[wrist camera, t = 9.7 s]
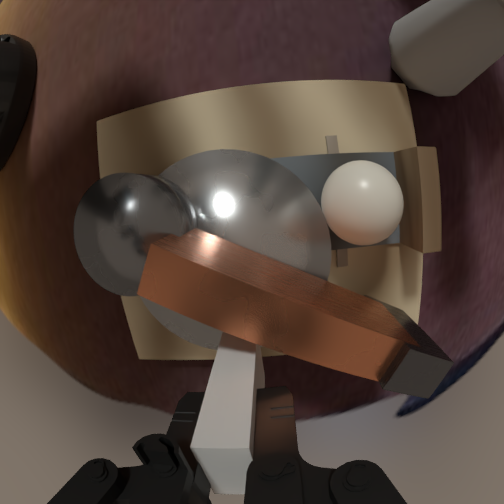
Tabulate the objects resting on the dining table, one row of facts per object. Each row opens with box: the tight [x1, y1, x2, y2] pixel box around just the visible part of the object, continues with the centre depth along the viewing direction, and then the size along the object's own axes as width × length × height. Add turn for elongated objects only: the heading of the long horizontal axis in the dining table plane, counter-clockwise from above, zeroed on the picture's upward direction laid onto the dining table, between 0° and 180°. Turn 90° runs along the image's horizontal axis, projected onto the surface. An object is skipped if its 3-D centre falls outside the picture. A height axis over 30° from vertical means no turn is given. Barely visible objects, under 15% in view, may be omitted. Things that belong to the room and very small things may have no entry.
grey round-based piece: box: [74, 149, 454, 398], centre depth 12 cm, size 10×16×7 cm, turn 68°
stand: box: [97, 80, 441, 360], centre depth 15 cm, size 19×16×4 cm
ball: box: [321, 160, 404, 245], centre depth 13 cm, size 4×4×4 cm
